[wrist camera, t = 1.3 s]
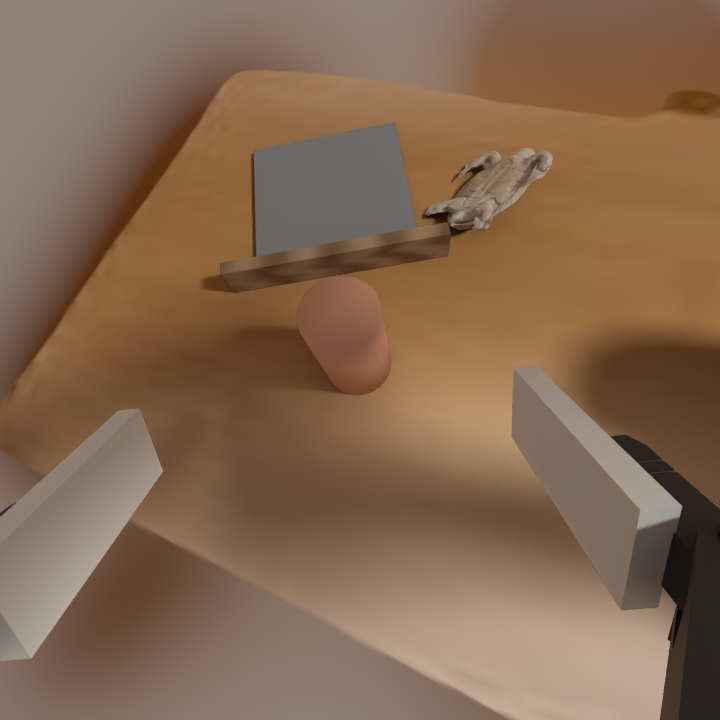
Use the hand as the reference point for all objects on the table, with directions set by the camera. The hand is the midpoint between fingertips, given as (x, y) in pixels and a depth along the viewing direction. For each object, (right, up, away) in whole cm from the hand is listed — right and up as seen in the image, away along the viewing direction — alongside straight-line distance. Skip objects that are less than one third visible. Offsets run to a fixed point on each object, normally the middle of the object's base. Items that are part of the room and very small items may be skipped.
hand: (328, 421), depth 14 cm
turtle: (+16, +21, +35) cm, 44 cm away
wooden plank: (-1, +13, +34) cm, 37 cm away
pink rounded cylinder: (+1, +2, +29) cm, 29 cm away
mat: (-3, +25, +39) cm, 46 cm away
